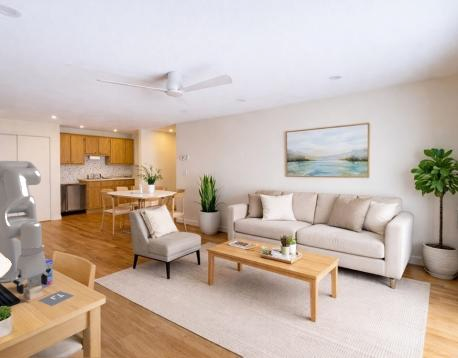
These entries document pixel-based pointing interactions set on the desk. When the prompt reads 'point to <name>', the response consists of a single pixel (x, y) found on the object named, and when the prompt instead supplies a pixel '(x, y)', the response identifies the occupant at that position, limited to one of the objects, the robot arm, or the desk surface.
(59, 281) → the desk surface
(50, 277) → the ink cartridge box
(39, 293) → the maple block
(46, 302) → the gray board
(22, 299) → the terracotta tile
